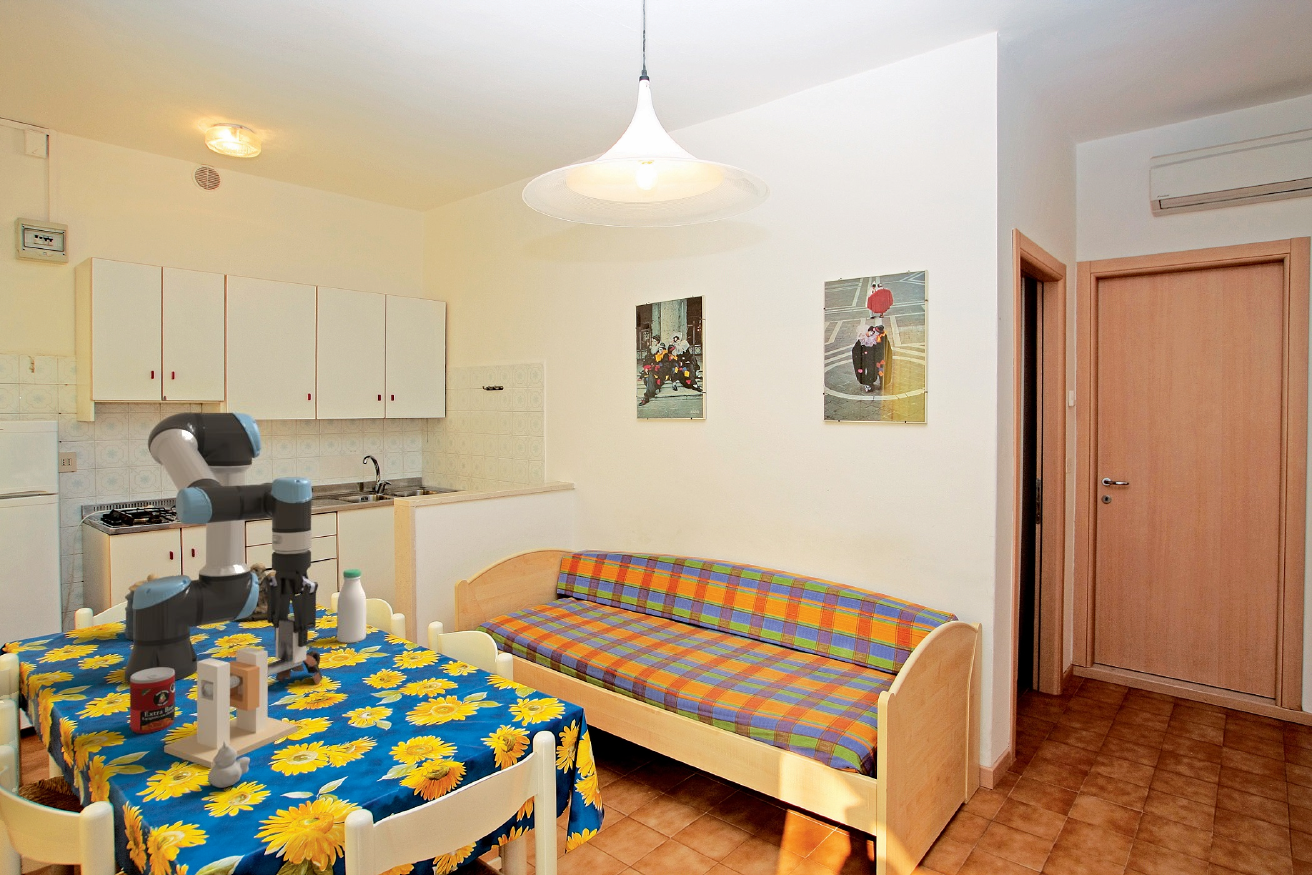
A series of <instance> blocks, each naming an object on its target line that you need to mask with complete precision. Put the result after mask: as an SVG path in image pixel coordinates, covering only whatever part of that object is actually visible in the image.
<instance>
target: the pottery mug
mask: <svg viewBox="0 0 1312 875" xmlns="http://www.w3.org/2000/svg"><path fill="white" fill-rule="evenodd" d="M320 662H321V655H320V653H319V652H318V651H316V650H310V651H308V652H306V660H303V663H302V664H301V665H298V666H296V667H293V668H290V669H287V670H284V671H281V672H278V673H276V681H278V682H279V681H281V682H283V683H284V681H285V680H286V679H288V680H291V674H292V671H293V672H299V673H300V672H304V671H305V669H306V670H307V674H314V675H313V676H312V677H311V679H312V680H313V681H314V685H315V686H317V685H318V684H320V683H321V681H322V680H323V675H322V673H321V672H322V671H321V670H320ZM303 664H304V665H303ZM303 666H305V669H304V667H303Z"/></svg>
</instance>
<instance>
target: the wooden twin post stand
mask: <svg viewBox="0 0 1312 875" xmlns="http://www.w3.org/2000/svg"><path fill="white" fill-rule="evenodd" d="M235 652H236V655H235V656H236V657H235V659H236V660H235V661H237V662H241V663H245V664H249V665H253V666H258V667H260V677H259V707H258V708H255V709H252V710H250V711H245V710H241V709H238V708H235V709H236V711H235V712H236V715H235V716H236V717H235V718H233V719H231V706H230V663H228V662H229V661H223V660H219V659H215V658H212V657H209V658H205V659H202V660H198V662H197V671H196V672H197V673H196V676H197V677H196V678H197V679H196V684H197V685H196V689H197V690H196V694H197V695H196V698H197V700H196V710H197V712H196V721H197V722H196V729H197V730H196V733H195V734H191V735H190V736H187V737H184V738H181V739H178V740H176V741H173V742H170V743H169V744H166V745H164V748H163V749H164V750H163V751H164V753H166V754H169V755H172V756H174V757H177V758H180V759H183V760H185V761H188V762H192V763H194V764H197V765H199V766H204V767H206V768H209V769H210V770H211V769H212V768H213V766H214V765H215V762H214V761H213V759H214V757H215V756H216V755H217V754H218V751H219V749H220V748H221V747H222V746H223V742H225V743H226V744H227V745H228V746H230V747H232V748H234V749H235V750H236V752H237V754H238V755H237V758H239V757H241V756H244V755H245V754H249V753H250V752H252V751H255V750H257V749H260V748H262V747H264V746H267V745H269V744H271V743H274V742H275V741H278V740H280V739H282V738H284V737H285V738H286V737H287V736H290V735H291V734H294V733H296V732H298V725H297V724H293V723H290V722H287V721H283V720H280V719H276V718H273V717H269V716H268V698H269V697H268V693H269V692H268V690H269V689H268V677H269V676H268V661H269V660H268V658H269V657H268V653H269V651H267V650H263V649H259V648H255V647H251V646H246V647H242V648H240V649H239V648H238V649H236V651H235ZM210 682H213V695H211V696H208V697H205V696H204V695H203V693H202V686H203V685H204V684H207V683H210ZM238 694H241V695H243V685H240V686H238Z"/></svg>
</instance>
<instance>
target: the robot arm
mask: <svg viewBox="0 0 1312 875" xmlns="http://www.w3.org/2000/svg"><path fill="white" fill-rule="evenodd" d="M261 440H262V438H261V433H260V429H259V426H258V423H257V422H256V420H255V419H254V418H253V417H252V415H250V414H246V413H237V412H189V411H188V412H179V413H175V414H173V415H170V416H168V417H166V418H163V419H162V420H161V421H160V422H158V423H157V424H156V425H155V426H154V427H153V429H152V430H151V431H150V434H149V436H148V439H147V447H148V451H149V453H150V456H151V458H153V460H154V461H155V462H156V463H157V464H160V465H161V466H163V468H164V469H165V471H166V472H167V474H168V476H169V477H170V479H171V480H172V482H173V485H174V486H175V487H176V489H177V491H178V492H177V494H176V497H175V512H176V515H177V519H178V521H179V523H181V524H183V525H196V524H197V525H205V524H206V526H205V534H206V535H205V541H206V542H205V564H204V566H203V567H202V568H200V570H198V579H194V580H192V579H191V577H190V575H187V574H178V575H177V574H176V575H169V576H162V577H158V579H155V580H151V581H148V582H146V583H144V584H141V585H140V586H138V587H137V588H136V590H135V592H134V598H133V605H132V608H133V640H132V642H133V644H132V645H133V646H132V649H131V651H130V655H129V657H128V660H127V663H126V666H125V668H124V677H123V678H124V681H125V682H126V681H127V682H126V683H129V684H130V677H131V675H133V674H134V673H136V672H139V671H142V670H145V669H150V668H158V667H167V668H172V669H174V671H175V681H177V680H180V679H183V678H186V677H189V676H192V674H195V673H196V672H197V662H198V661H199V658H198V656H197V653H196V651H195V648H194V646H193V644H192V641H191V640H192V639H191V628H194V627H200V626H207V625H212V624H219V623H224V622H235V621H234V620H237V619H241V618H246V617H248V616H249V615H251V613H252V612H253V611H254V609H255V607H256V605H257V601H258V595H259V585H258V578H257V576H256V574H254V573H252V572H250V571H251V569H250V567H251V566H250V565H248V564H247V563H245V526H246V525H245V522H246V521H248V520H249V521H250V520H261V519H271V531H272V533H271V535H272V536H271V537H272V538H271V539H272V540H271V549H272V550H273V551H274V552H272V554H271V569H272V570H273V572H274V571H276V573H275V576H272V577H267V578H266V580H265V581H266V585H267V620H266V621H267V623H268V624H271V625H272V627H273V628H274V641H275V659H276V660H280V659H279V620H280V619H282V618H286V617H289V614H288V612H289V609H290V605H291V607H292V612H293V614H292V615H293V616H294V620H295V627H296V630H293V663H297V662H300V661H303V660H306V654H307V646H308V642H309V638H308V634H309V633H308V632H309V630H310V629H311V630H312V629H314V628H316V622H317V616H316V615H317V614H316V613H317V612H316V611H317V590H318V587H319V583H318V581H314V582H312V581H311V580H309V576H308V569H309V568H311V566H312V551H311V550H310V549H311V548H312V505H313V504H312V501H313V500H312V499H313V492H312V482H311V480H310V479H309V478H307V477H299V476H295V477H292V476H291V477H289V476H288V477H277V478H275V479H273V481H271V482H262V483H260V484H246V471H247V470H248V469H250V468H251V467H252V466H253V459H256V458H258V457H259V456H260V454H261V450H262V441H261ZM273 615H274V617H273ZM301 624H302V625H301Z"/></svg>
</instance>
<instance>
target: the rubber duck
mask: <svg viewBox="0 0 1312 875" xmlns="http://www.w3.org/2000/svg"><path fill="white" fill-rule="evenodd" d="M237 755H238V754H237V752H236V750H235V749H234V748H232V747H230V746H228V745H227V744H226V743H225V742H223V746H222V747H221V748H220V749H219V751H218V754H217V755H216V756H215V757H214V759H213V761H214V762H215V765H214V766H213V768H212V769H211V768H210V770H209V772H208V774H207V781H208V782H209V783H210V785H212V786H214V787H216V788H221V789H222V788H227V787H231V786H233V785H235V784H236V783H238V782H240V778H241V777H242V775H244V774H245V773H248V772H249V770H250V768H249V764H250V762H251V761H250V760H251V759H250V757H247V756H242V757H240V758H238V757H237ZM237 758H238V759H237Z"/></svg>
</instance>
